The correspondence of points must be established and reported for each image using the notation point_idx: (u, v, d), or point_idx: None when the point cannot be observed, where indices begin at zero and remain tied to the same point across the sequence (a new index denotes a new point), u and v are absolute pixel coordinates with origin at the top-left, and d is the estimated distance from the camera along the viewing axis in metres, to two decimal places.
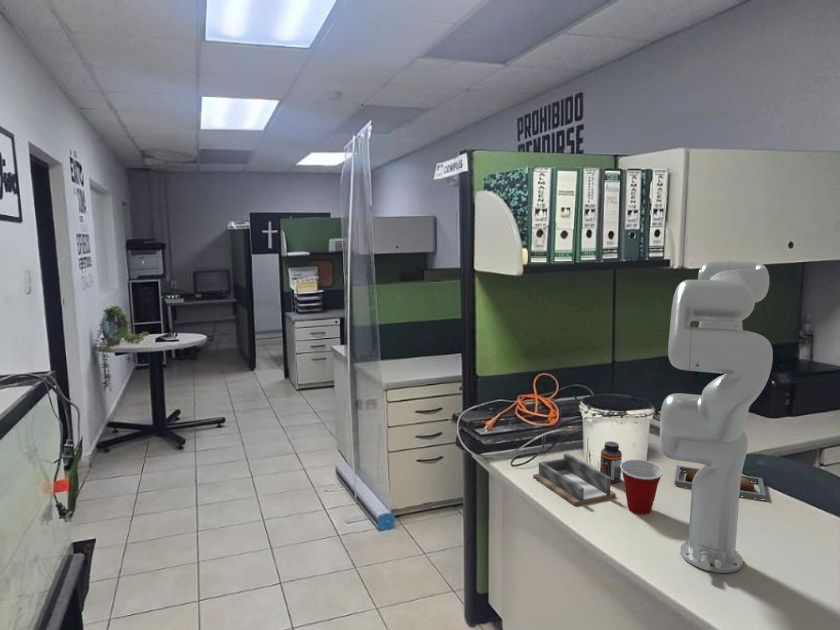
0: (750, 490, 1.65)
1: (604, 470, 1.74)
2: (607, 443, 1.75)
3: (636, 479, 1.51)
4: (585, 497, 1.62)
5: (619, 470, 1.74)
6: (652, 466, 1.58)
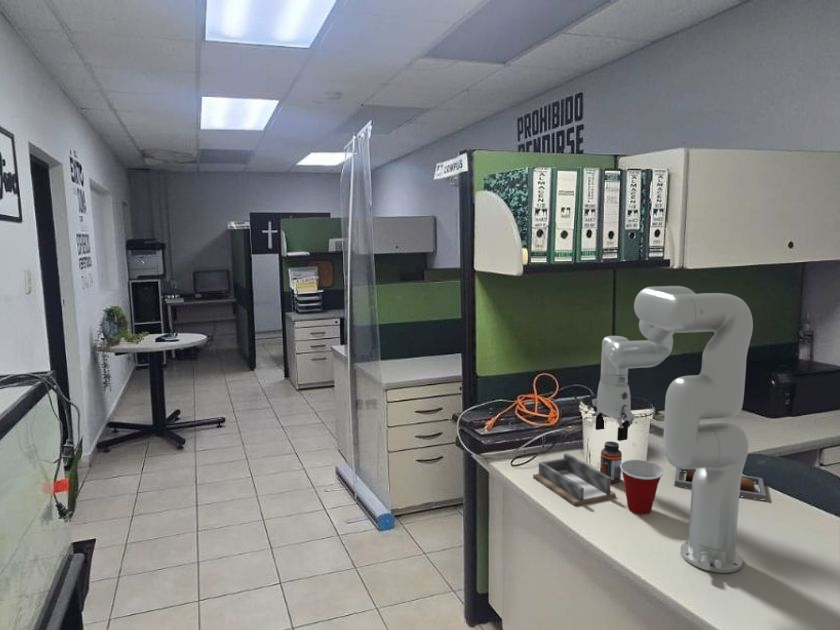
0: (750, 489, 1.65)
1: (604, 470, 1.74)
2: (607, 443, 1.75)
3: (636, 479, 1.51)
4: (585, 497, 1.62)
5: (619, 470, 1.74)
6: (652, 466, 1.58)
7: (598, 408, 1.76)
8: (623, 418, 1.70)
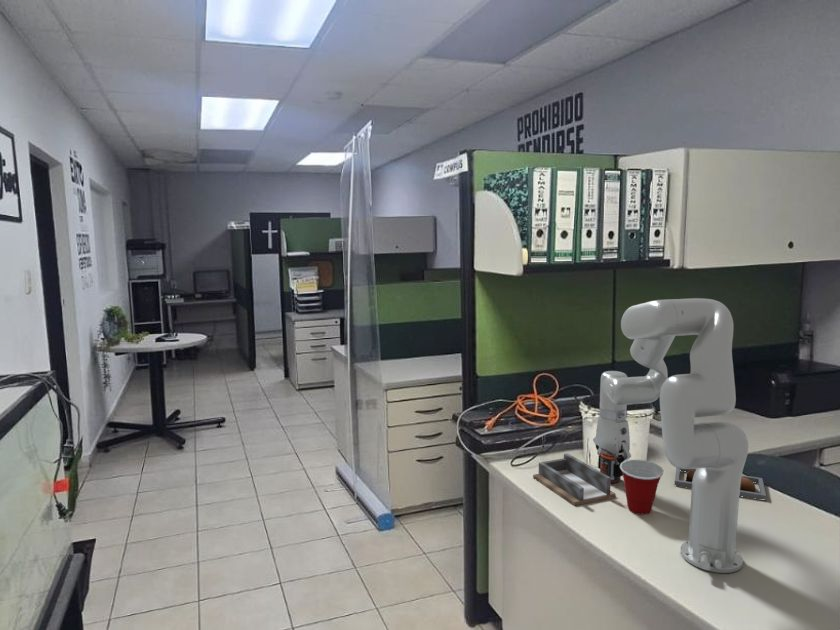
0: (751, 489, 1.66)
1: (604, 470, 1.74)
2: None
3: (636, 479, 1.51)
4: (585, 497, 1.62)
5: None
6: (652, 466, 1.58)
7: (597, 442, 1.77)
8: (620, 454, 1.72)
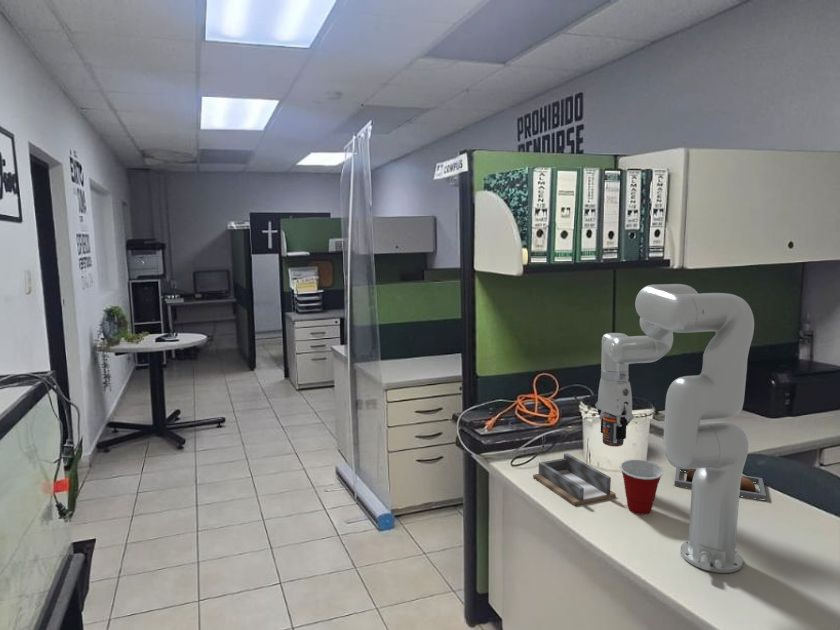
0: (751, 490, 1.65)
1: (607, 433, 1.72)
2: None
3: (636, 479, 1.51)
4: (585, 497, 1.62)
5: None
6: (652, 466, 1.58)
7: (599, 406, 1.75)
8: (623, 417, 1.70)
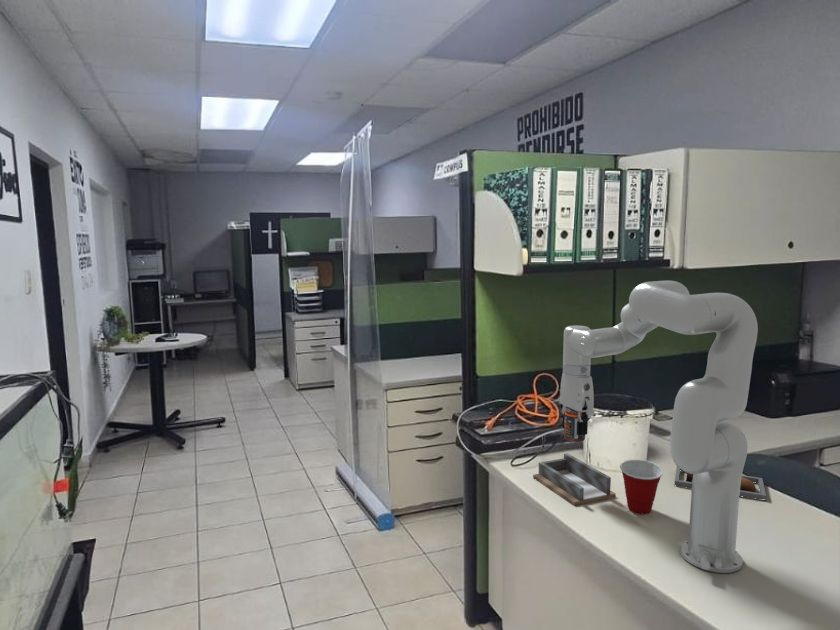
0: (751, 490, 1.65)
1: (568, 429, 1.67)
2: None
3: (636, 479, 1.51)
4: (585, 497, 1.62)
5: None
6: (652, 466, 1.58)
7: (561, 401, 1.70)
8: (584, 412, 1.65)
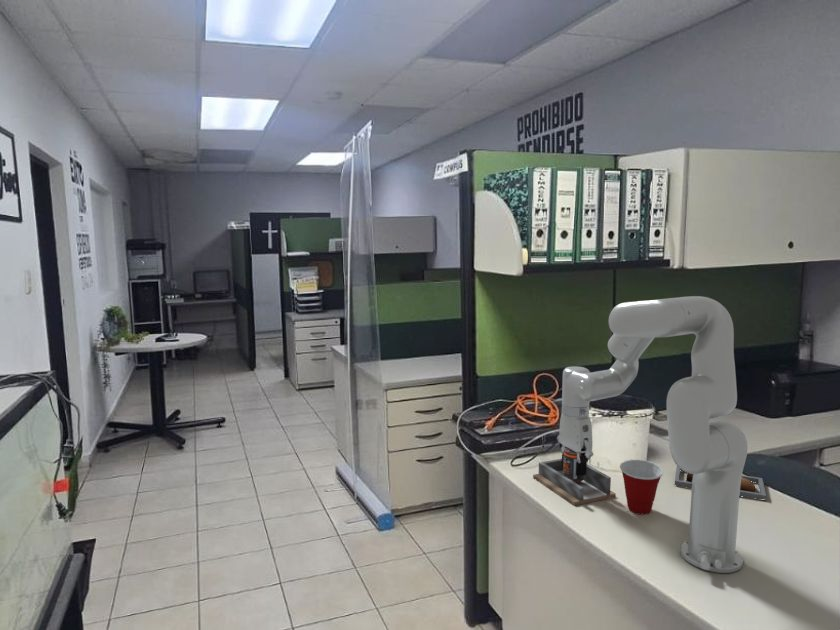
0: (751, 490, 1.65)
1: (567, 469, 1.68)
2: None
3: (636, 479, 1.51)
4: (585, 497, 1.62)
5: None
6: (652, 466, 1.58)
7: (560, 440, 1.72)
8: (583, 453, 1.66)
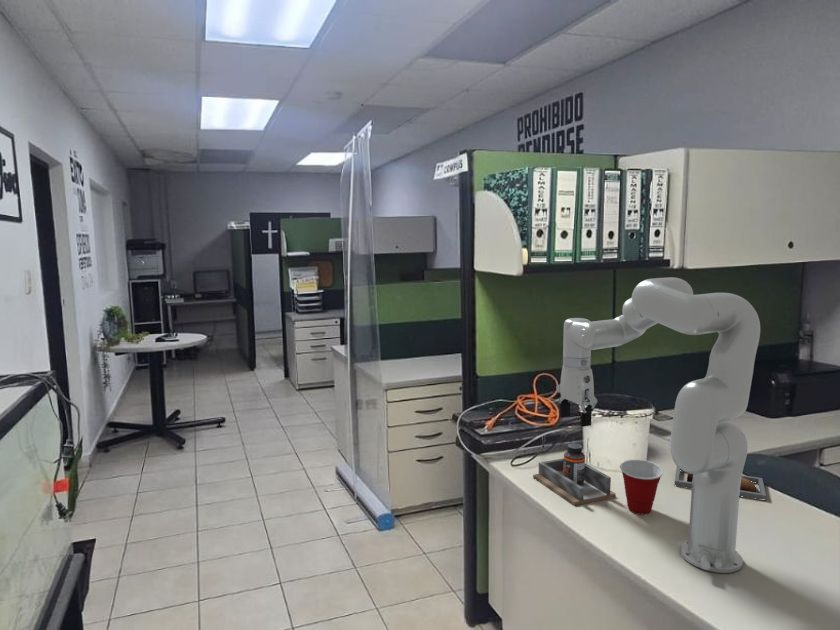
0: (751, 491, 1.65)
1: (567, 473, 1.69)
2: (570, 445, 1.69)
3: (636, 479, 1.51)
4: (585, 497, 1.62)
5: (582, 473, 1.68)
6: (652, 466, 1.58)
7: (562, 394, 1.70)
8: (586, 403, 1.64)
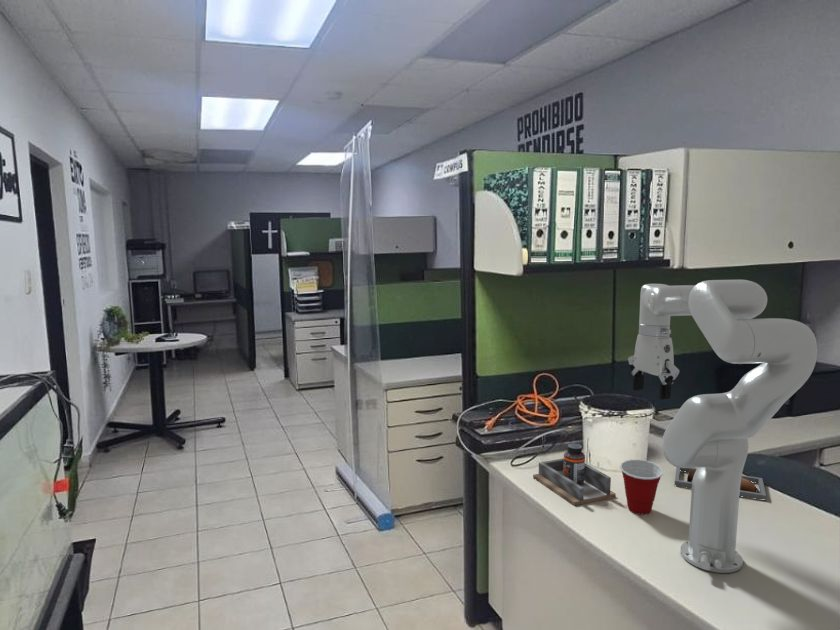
0: (751, 491, 1.64)
1: (567, 473, 1.69)
2: (570, 445, 1.69)
3: (636, 479, 1.51)
4: (585, 497, 1.62)
5: (582, 473, 1.68)
6: (652, 466, 1.58)
7: (636, 365, 1.59)
8: (665, 374, 1.53)
